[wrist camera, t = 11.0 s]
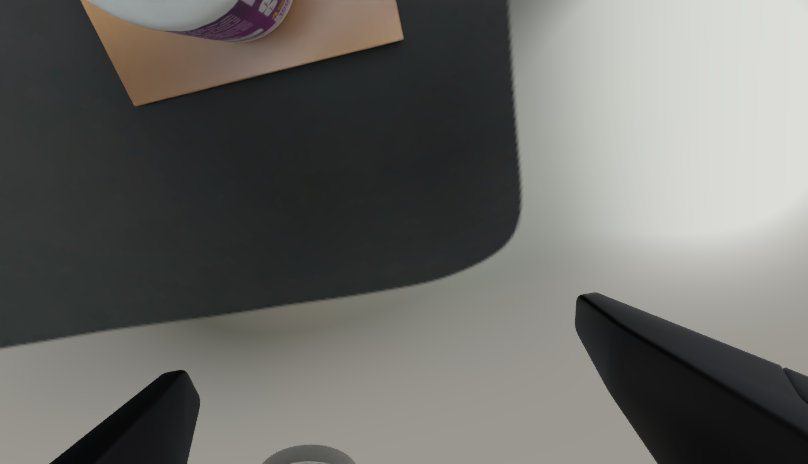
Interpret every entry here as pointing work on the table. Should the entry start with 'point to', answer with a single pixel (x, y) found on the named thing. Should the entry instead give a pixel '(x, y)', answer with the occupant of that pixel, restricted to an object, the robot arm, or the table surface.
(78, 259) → the table surface
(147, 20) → the pill bottle
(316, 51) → the wooden board
